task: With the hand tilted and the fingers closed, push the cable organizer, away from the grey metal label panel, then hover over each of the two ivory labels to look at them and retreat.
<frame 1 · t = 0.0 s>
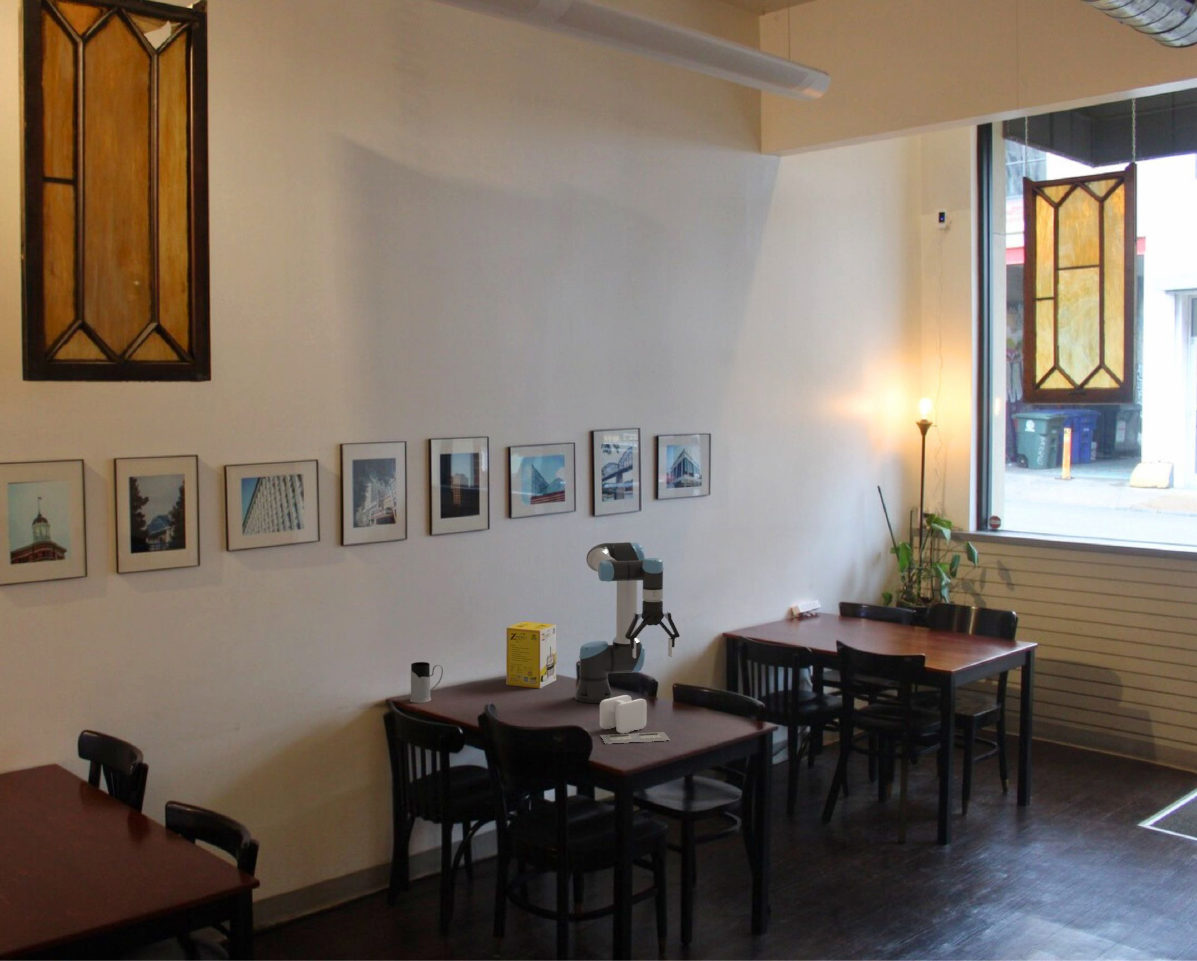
hand: (652, 656, 422), 28 cm above the table, tool pointing down, fingers open, 13 cm apart
packaging box: (531, 683, 497), on the table
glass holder: (426, 699, 468), on the table
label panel: (634, 738, 414), on the table
cable organizer: (622, 730, 426), on the table
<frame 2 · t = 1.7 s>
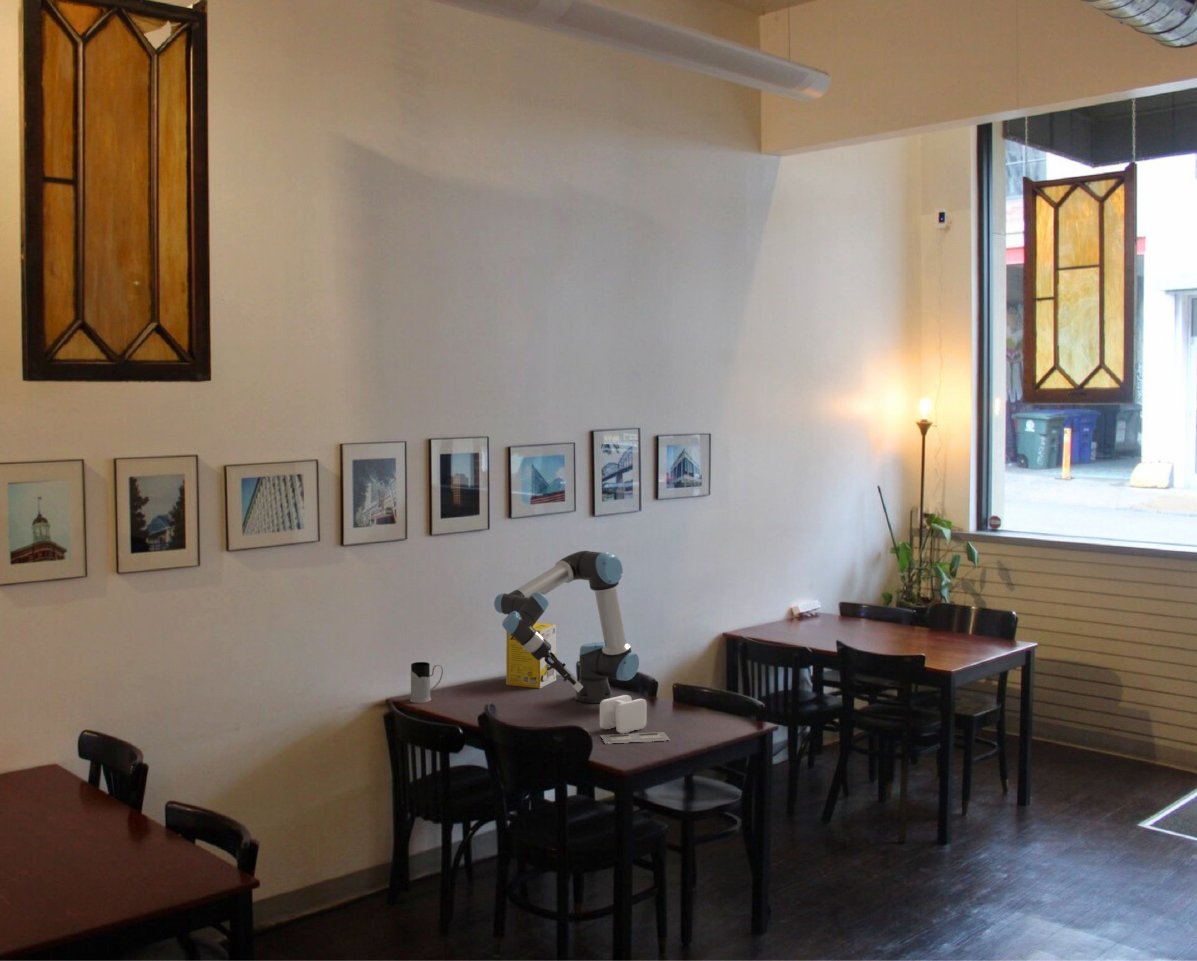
hand: (577, 685, 421), 18 cm above the table, tool tilted 45°, fingers open, 12 cm apart
nothing on the table moved.
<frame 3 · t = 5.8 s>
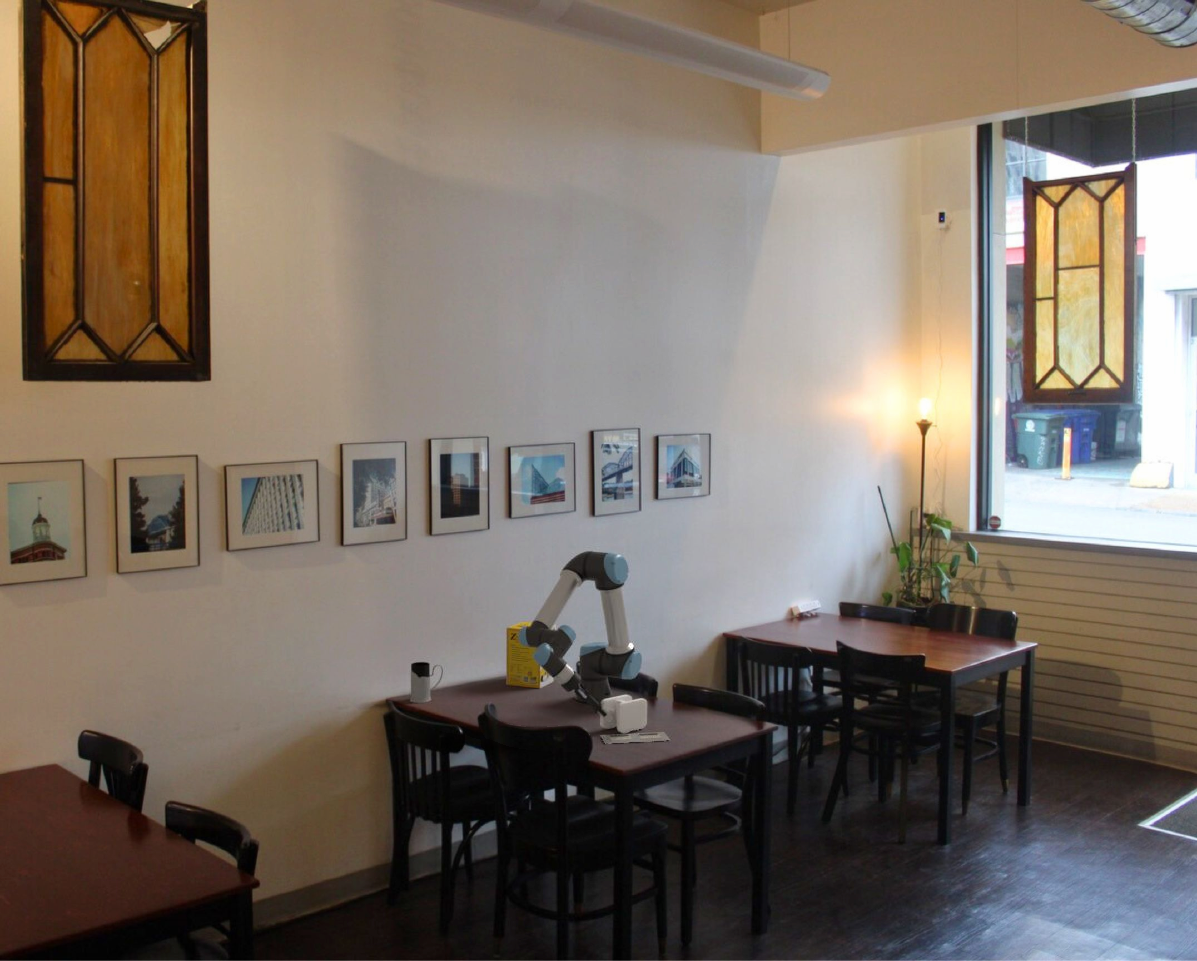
hand: (611, 720, 423), 4 cm above the table, tool tilted 45°, fingers closed
cable organizer: (623, 729, 426), on the table, touching gripper
everything else where it was.
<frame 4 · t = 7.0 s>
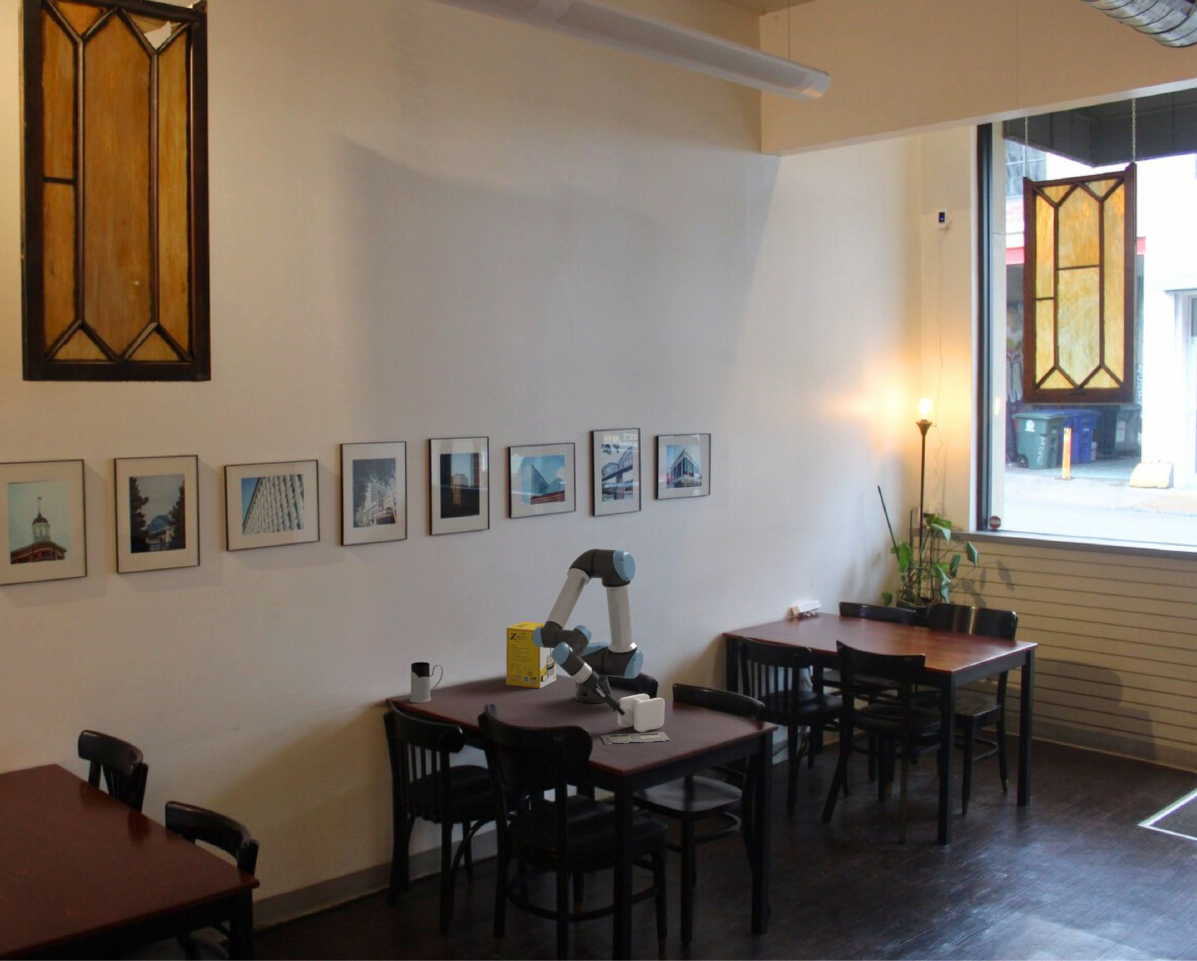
hand: (629, 719, 425), 4 cm above the table, tool tilted 45°, fingers closed
cable organizer: (640, 728, 427), on the table, touching gripper
everything else where it was.
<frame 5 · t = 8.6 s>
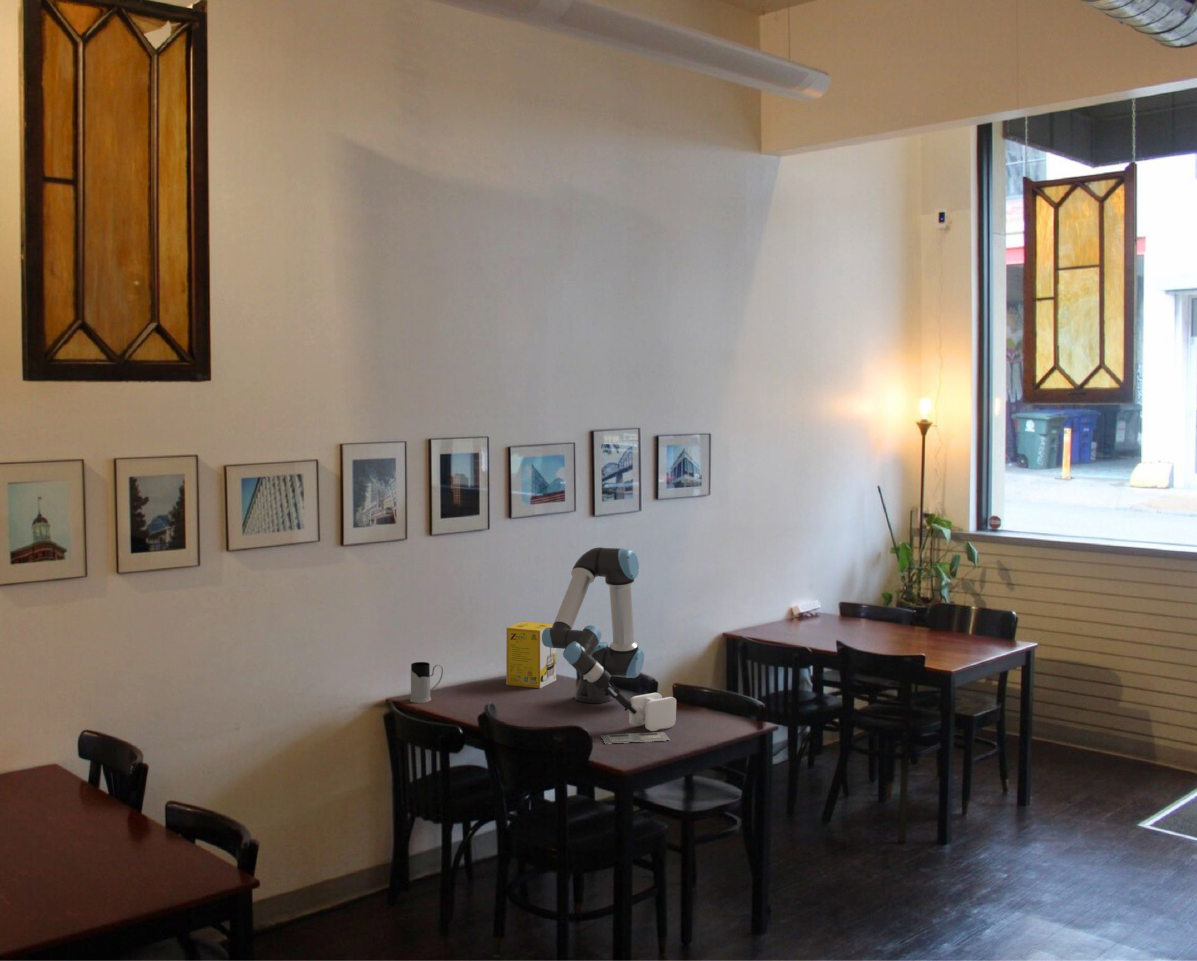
hand: (640, 718, 427), 4 cm above the table, tool tilted 45°, fingers closed
cable organizer: (651, 727, 428), on the table, touching gripper
everything else where it was.
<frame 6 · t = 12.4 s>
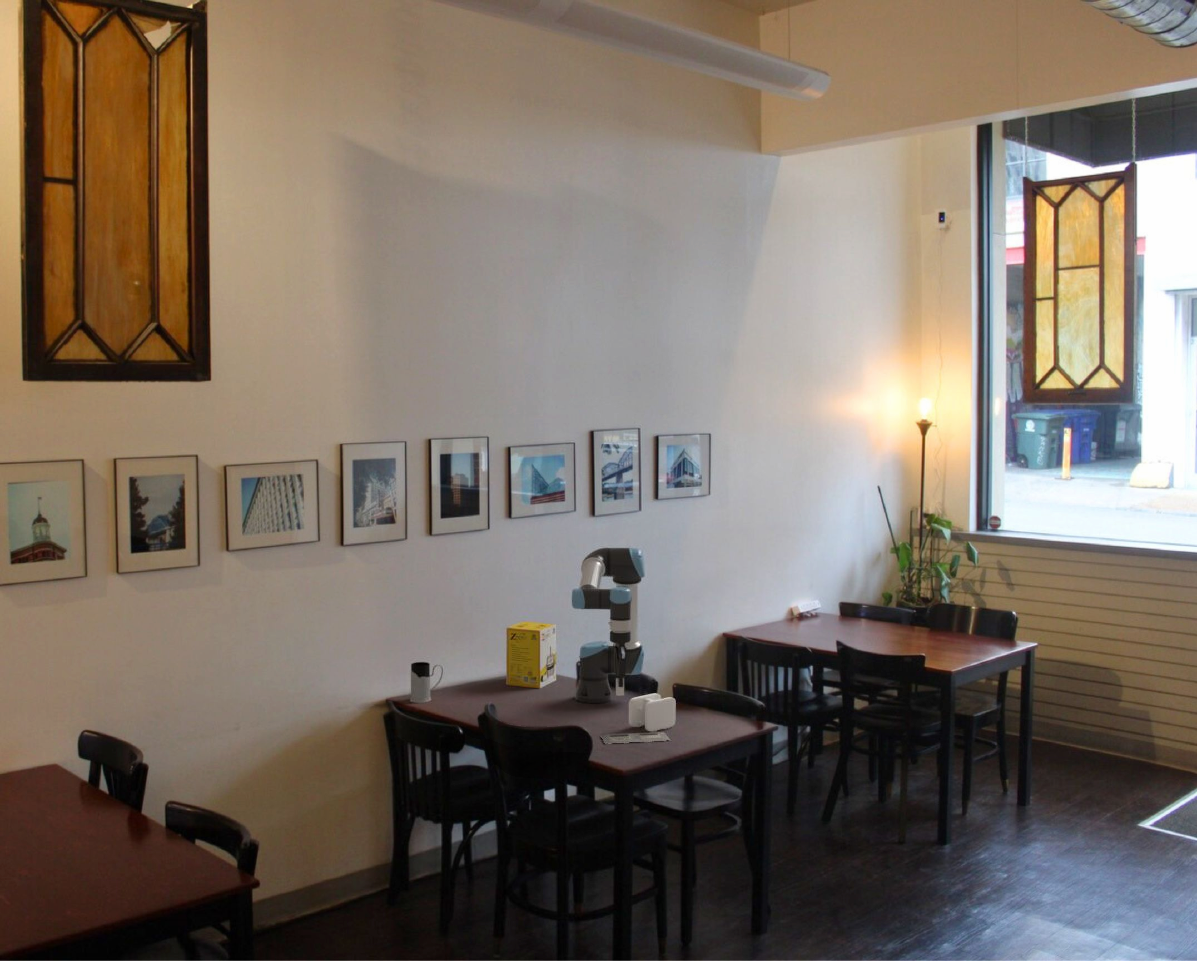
hand: (619, 695, 412), 16 cm above the table, tool pointing down, fingers closed
cable organizer: (651, 728, 428), on the table
everything else where it was.
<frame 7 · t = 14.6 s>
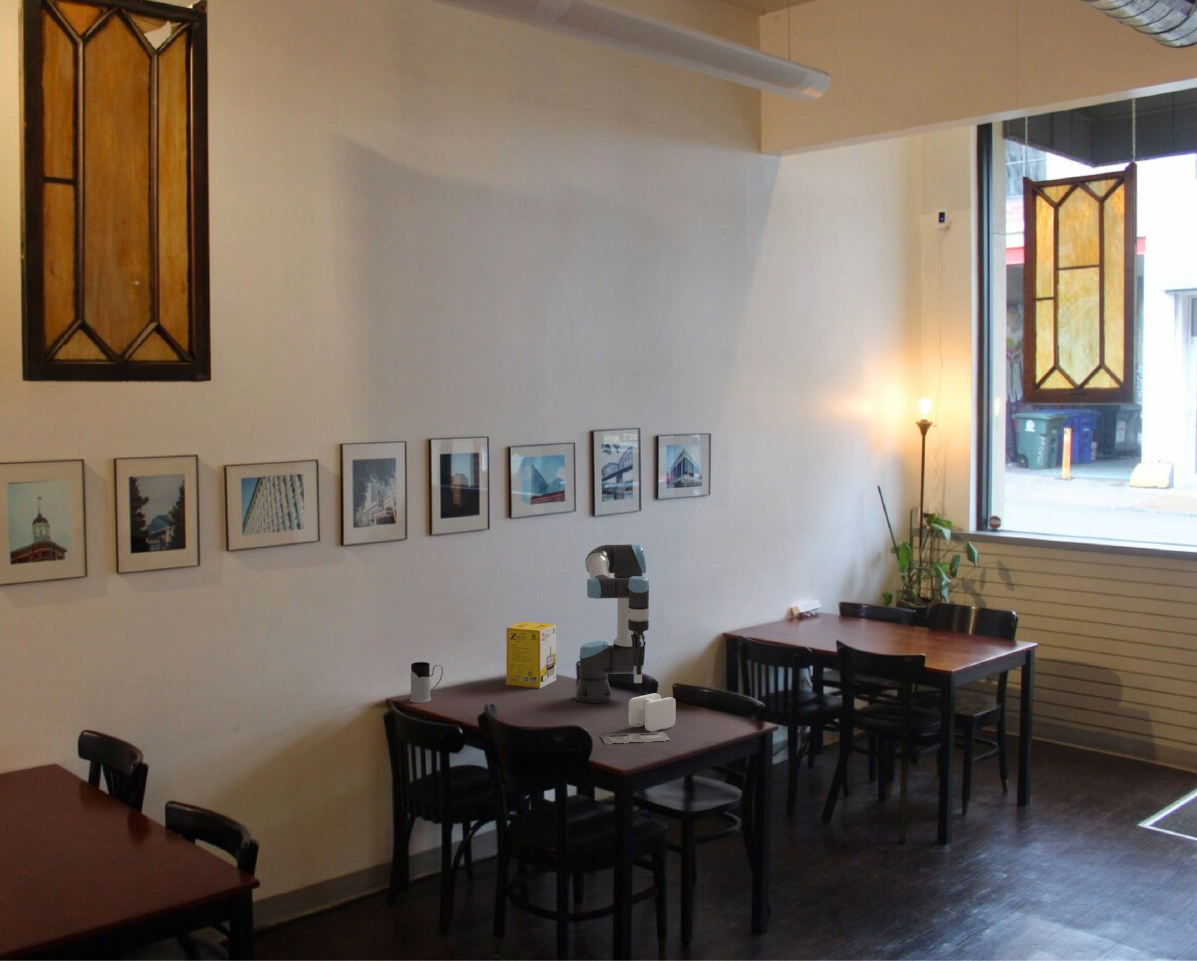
hand: (637, 682, 418), 20 cm above the table, tool pointing down, fingers closed
nothing on the table moved.
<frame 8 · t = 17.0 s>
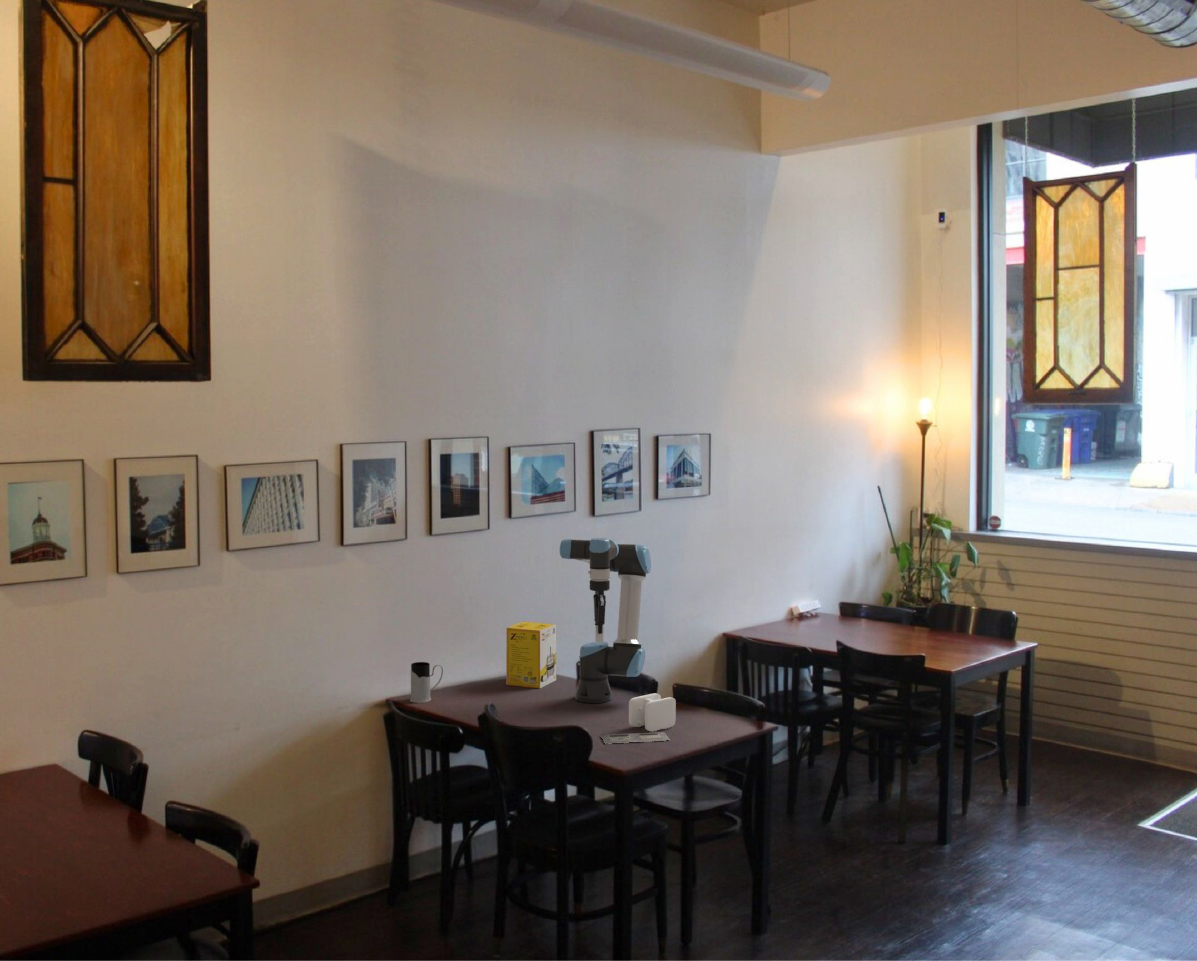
hand: (599, 641, 427), 32 cm above the table, tool pointing down, fingers closed
nothing on the table moved.
at the end: cable organizer inside the target area (7.3 cm from its centre), on the table; cable organizer tilted 0°; the gripper is holding nothing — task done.
